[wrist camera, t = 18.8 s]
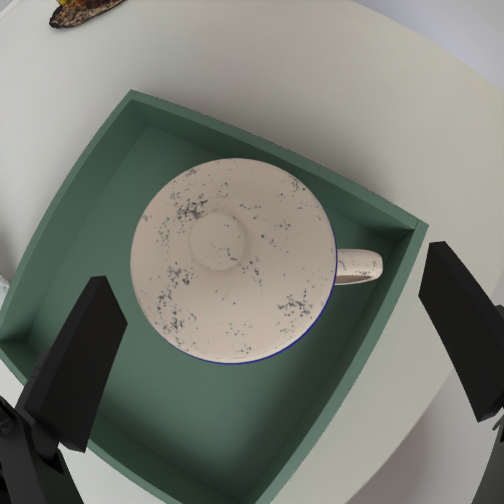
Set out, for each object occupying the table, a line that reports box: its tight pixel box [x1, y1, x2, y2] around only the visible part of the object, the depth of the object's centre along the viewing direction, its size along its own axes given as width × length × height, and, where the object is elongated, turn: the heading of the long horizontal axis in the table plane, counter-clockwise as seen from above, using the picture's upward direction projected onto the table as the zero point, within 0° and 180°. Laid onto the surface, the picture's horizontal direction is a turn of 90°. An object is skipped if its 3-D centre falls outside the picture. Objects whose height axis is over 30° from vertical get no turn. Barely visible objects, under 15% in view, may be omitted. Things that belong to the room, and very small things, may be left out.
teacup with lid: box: [130, 158, 383, 365], centre depth 16 cm, size 12×9×12 cm
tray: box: [0, 90, 429, 504], centre depth 21 cm, size 24×24×5 cm
